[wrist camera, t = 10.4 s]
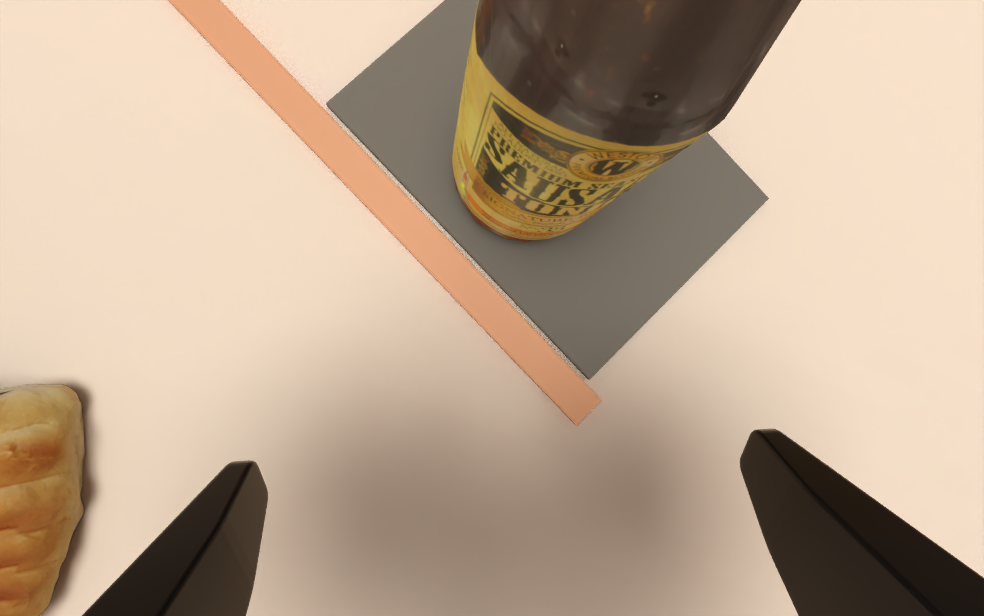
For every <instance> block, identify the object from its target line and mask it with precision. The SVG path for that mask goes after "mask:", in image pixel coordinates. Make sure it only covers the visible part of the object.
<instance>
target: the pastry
mask: <svg viewBox="0 0 984 616" xmlns="http://www.w3.org/2000/svg"><path fill="white" fill-rule="evenodd" d="M81 410H82V405H81V403H80V401H79V398H78V396H77V394H76V392H75V391H73V390H72V389H70V388H69V387H67V386H65V385H43V384H32V385H23V386H18V387H12V388H4V389H0V616H39V615H40V614H41V613H42V612H43V611H44V610H45V609H46V608H47V606H48V605H49V603H50V600H51V597H52V593H53V590H54V586H55V583H56V581H57V579H58V577H59V569H60V567H61V564H62V563H63V561H64V559H65V558H66V555H67V551H68V547H69V543H70V540H71V537H72V534H73V532H74V530H75V528H76V526H77V524H78V522H79V521H80V519H81V517H82V515H83V510H84V506H83V503H82V501H81V498H80V493H81V489H82V484H83V479H82V472H83V459H84V455H85V445H84V442H85V437H84V421H83V416H82V411H81Z"/></svg>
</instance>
